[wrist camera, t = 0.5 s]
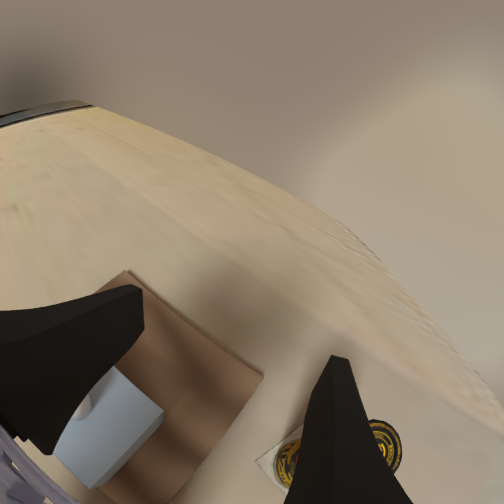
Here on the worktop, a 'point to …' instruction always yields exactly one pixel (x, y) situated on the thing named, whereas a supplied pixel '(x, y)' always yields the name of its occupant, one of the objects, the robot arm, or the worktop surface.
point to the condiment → (286, 452)
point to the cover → (107, 429)
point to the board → (176, 401)
